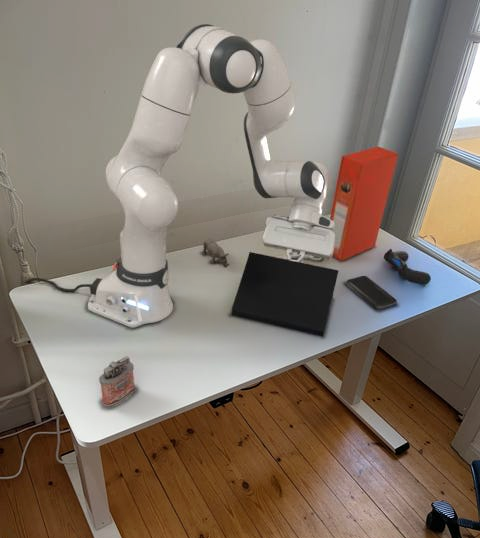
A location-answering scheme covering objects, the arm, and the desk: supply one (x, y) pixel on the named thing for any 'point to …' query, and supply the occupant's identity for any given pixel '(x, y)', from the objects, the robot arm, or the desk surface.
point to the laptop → (279, 322)
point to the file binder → (361, 199)
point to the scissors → (296, 255)
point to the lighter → (117, 382)
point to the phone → (371, 292)
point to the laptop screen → (286, 291)
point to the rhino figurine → (215, 252)
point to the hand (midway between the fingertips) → (292, 266)
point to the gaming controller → (406, 267)
